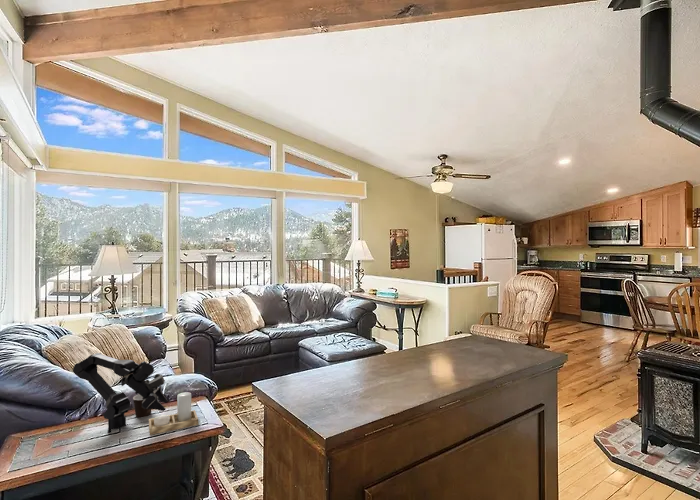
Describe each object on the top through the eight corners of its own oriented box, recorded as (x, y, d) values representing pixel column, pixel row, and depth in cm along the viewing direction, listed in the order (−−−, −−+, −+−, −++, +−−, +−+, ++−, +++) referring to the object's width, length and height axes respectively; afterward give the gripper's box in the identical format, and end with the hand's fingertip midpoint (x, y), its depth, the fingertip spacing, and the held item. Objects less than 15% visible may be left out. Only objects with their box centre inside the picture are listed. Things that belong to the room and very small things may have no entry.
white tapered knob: (178, 426, 177) (177, 398, 177) (176, 421, 183) (176, 393, 182) (192, 423, 180) (192, 395, 180) (190, 418, 186) (190, 391, 185)
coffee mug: (144, 421, 185) (144, 400, 185) (129, 419, 187) (128, 399, 186) (161, 411, 196) (161, 391, 196) (146, 409, 198) (146, 390, 198)
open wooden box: (149, 437, 170) (149, 429, 170) (148, 427, 179) (148, 419, 179) (198, 427, 179) (198, 419, 179) (195, 417, 189) (194, 410, 189)
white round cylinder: (154, 431, 173) (154, 422, 172) (153, 425, 178) (153, 417, 178) (170, 428, 176) (170, 419, 176) (169, 422, 181) (169, 414, 181)
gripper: (150, 377, 168) (177, 399, 172) (155, 364, 186) (180, 385, 190) (129, 398, 166) (158, 419, 169) (137, 383, 183) (163, 403, 187)
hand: (165, 405), depth 179 cm, fingers open, 9 cm apart
